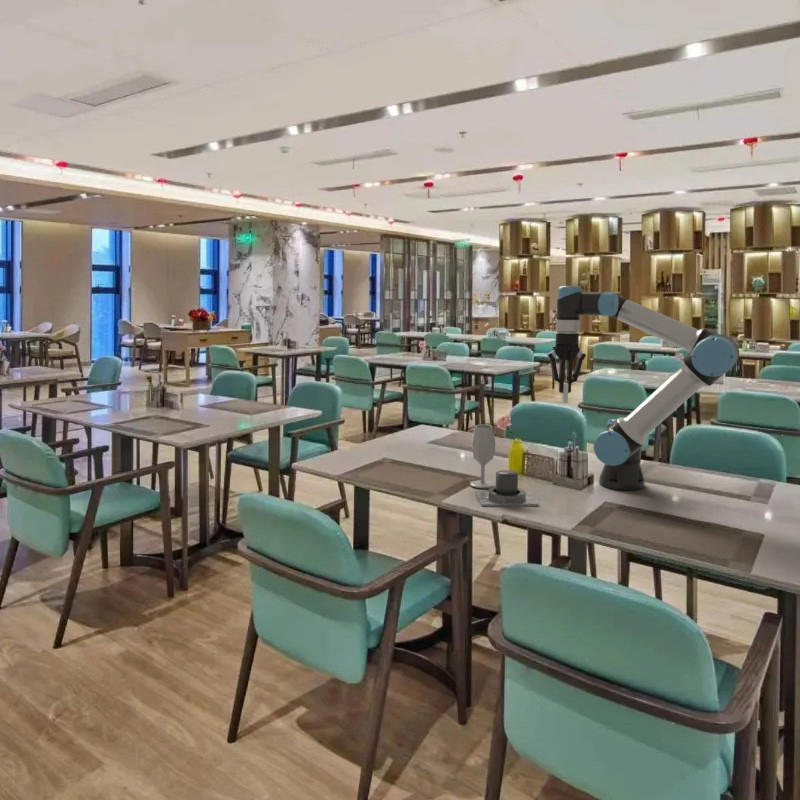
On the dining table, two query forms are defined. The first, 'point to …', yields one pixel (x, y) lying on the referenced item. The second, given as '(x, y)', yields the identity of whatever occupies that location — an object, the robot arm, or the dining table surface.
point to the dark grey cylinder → (507, 482)
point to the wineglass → (483, 452)
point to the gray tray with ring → (506, 498)
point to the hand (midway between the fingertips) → (564, 402)
